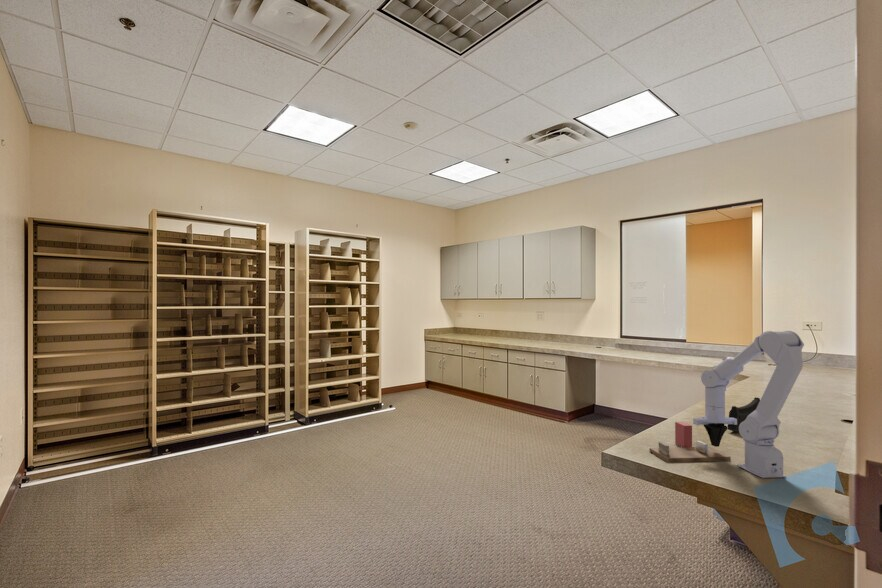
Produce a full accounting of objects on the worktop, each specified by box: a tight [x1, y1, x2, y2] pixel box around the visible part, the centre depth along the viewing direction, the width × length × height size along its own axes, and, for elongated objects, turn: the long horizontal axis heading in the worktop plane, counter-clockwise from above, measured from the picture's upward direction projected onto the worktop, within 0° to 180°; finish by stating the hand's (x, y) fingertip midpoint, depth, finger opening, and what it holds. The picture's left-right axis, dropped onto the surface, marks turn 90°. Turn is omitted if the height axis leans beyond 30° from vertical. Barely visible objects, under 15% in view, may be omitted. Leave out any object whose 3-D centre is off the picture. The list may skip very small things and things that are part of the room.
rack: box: [649, 441, 732, 463], centre depth 146 cm, size 22×10×4 cm, turn 95°
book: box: [674, 421, 693, 447], centre depth 156 cm, size 5×3×8 cm, turn 6°
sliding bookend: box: [695, 440, 709, 453], centre depth 146 cm, size 1×4×3 cm, turn 5°
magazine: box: [727, 396, 761, 432], centre depth 180 cm, size 17×3×30 cm
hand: (715, 445), depth 146 cm, fingers closed
